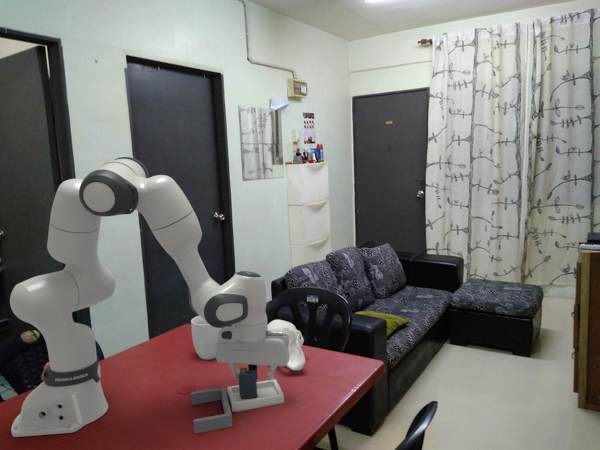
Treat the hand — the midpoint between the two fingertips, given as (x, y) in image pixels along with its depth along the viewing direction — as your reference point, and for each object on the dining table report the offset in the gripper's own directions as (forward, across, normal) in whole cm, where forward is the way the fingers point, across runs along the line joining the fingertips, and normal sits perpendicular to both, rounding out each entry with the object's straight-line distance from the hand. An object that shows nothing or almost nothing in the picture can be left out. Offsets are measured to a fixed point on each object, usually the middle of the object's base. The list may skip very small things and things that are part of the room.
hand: (253, 378), depth 126 cm
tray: (+6, 0, 0) cm, 6 cm away
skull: (+6, -3, -22) cm, 24 cm away
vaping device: (+5, +1, +1) cm, 5 cm away
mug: (+6, +24, -26) cm, 36 cm away
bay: (+6, +9, +10) cm, 15 cm away
